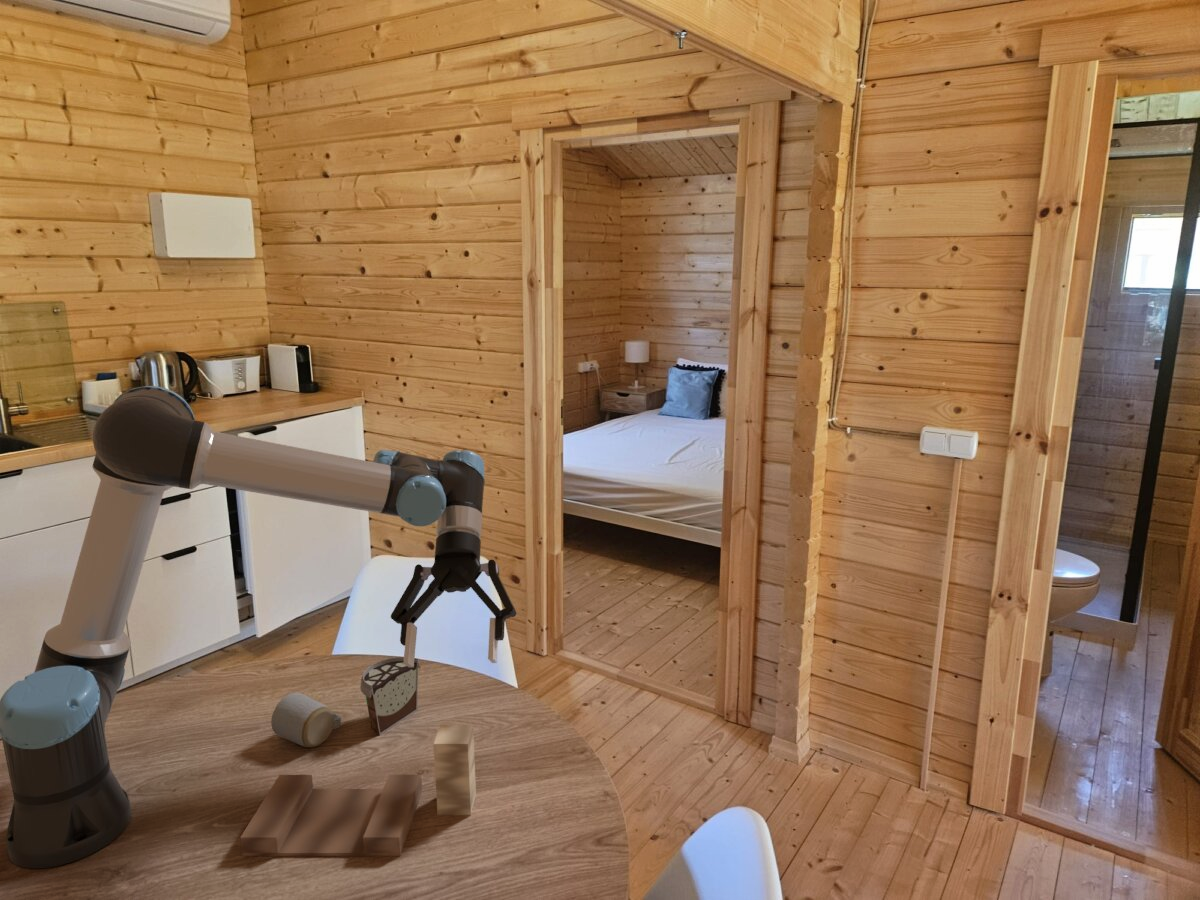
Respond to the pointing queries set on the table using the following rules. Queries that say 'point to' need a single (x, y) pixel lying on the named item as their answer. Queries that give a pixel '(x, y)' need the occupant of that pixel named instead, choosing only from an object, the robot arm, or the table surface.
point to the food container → (390, 692)
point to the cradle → (332, 819)
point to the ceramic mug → (303, 720)
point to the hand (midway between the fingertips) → (450, 663)
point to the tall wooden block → (455, 769)
